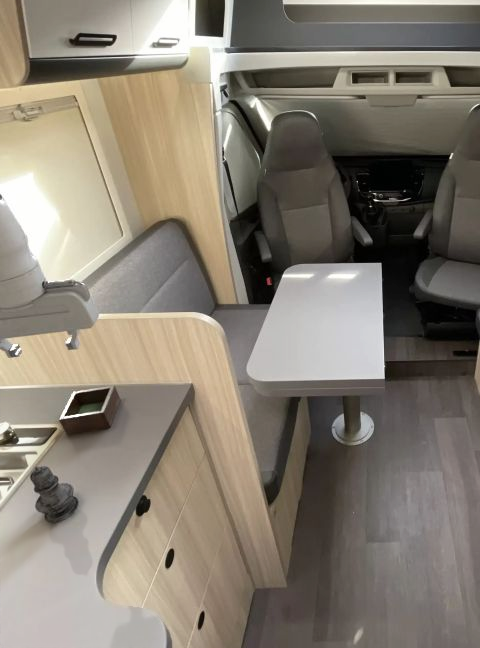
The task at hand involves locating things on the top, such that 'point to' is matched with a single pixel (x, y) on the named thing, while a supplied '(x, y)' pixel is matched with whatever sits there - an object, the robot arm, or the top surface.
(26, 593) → the top surface
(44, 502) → the dark grey chess piece
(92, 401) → the open brown box
